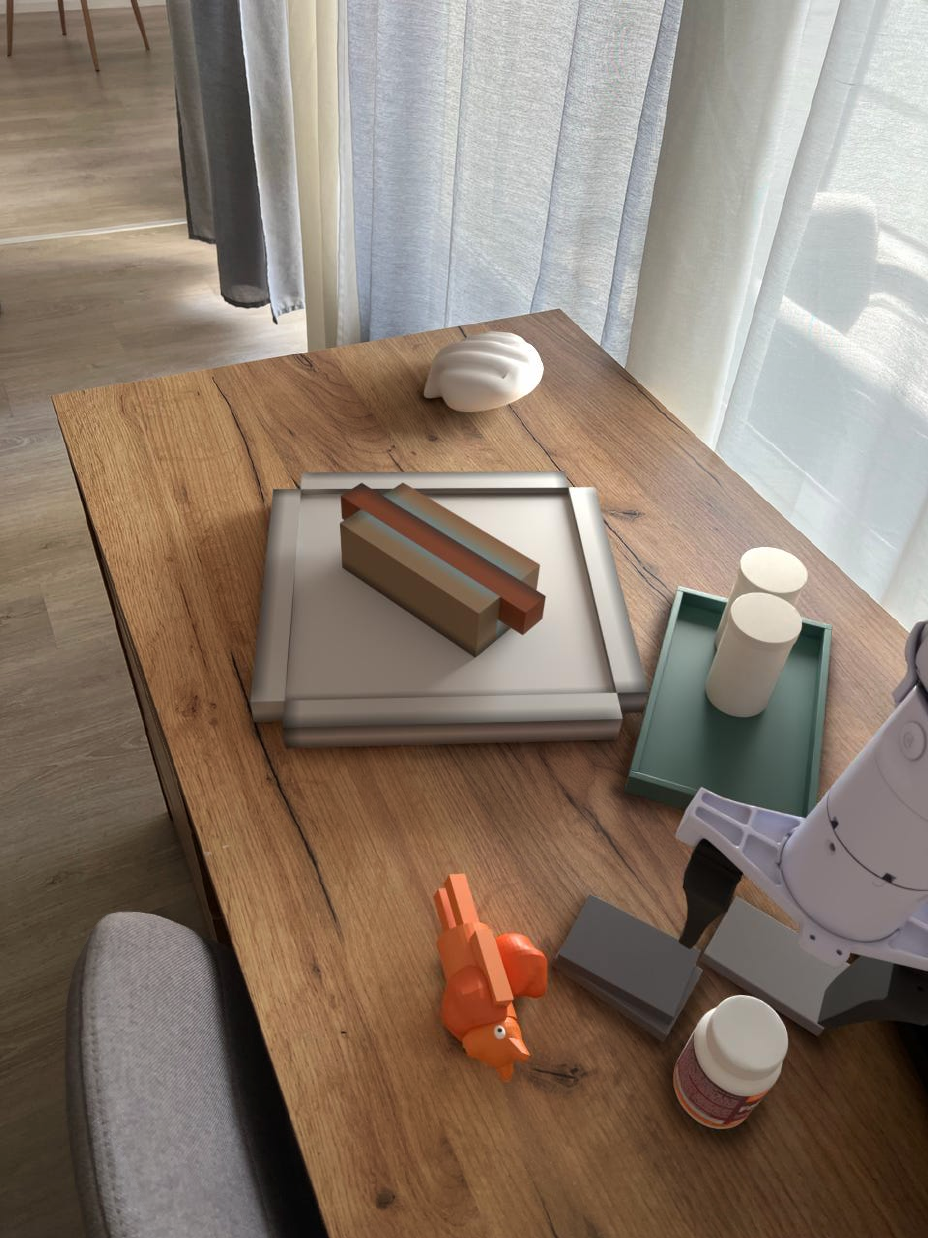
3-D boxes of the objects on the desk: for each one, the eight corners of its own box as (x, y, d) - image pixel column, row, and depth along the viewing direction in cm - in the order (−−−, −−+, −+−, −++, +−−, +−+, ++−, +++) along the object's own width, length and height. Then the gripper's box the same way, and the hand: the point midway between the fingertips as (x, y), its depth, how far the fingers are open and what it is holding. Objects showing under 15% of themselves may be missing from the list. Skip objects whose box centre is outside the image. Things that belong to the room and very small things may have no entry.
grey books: (845, 973, 61) (858, 957, 60) (778, 1126, 55) (790, 1112, 53) (631, 842, 67) (637, 824, 66) (546, 966, 61) (551, 949, 59)
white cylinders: (765, 726, 75) (799, 651, 68) (699, 707, 76) (726, 631, 69) (778, 633, 82) (810, 556, 75) (718, 617, 83) (744, 540, 76)
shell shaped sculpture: (563, 403, 105) (571, 350, 101) (479, 445, 99) (483, 391, 95) (484, 353, 112) (488, 302, 107) (400, 389, 106) (400, 337, 101)
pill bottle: (737, 1148, 54) (779, 1099, 48) (659, 1100, 56) (691, 1047, 49) (764, 1073, 57) (808, 1018, 51) (689, 1029, 58) (723, 971, 52)
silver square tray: (586, 496, 94) (597, 433, 89) (647, 743, 73) (667, 680, 68) (277, 498, 92) (270, 433, 86) (252, 754, 71) (239, 689, 66)
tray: (805, 846, 68) (814, 831, 66) (623, 792, 70) (628, 776, 69) (825, 641, 82) (832, 625, 81) (673, 601, 84) (677, 585, 83)
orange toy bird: (423, 865, 59) (478, 1061, 51) (528, 860, 62) (595, 1043, 54) (398, 908, 62) (445, 1099, 54) (499, 901, 65) (558, 1080, 57)
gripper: (706, 808, 39) (604, 957, 48) (1061, 1003, 36) (878, 1121, 45) (750, 700, 44) (650, 855, 53) (1066, 864, 41) (900, 997, 50)
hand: (757, 970), depth 49 cm, fingers open, 7 cm apart
